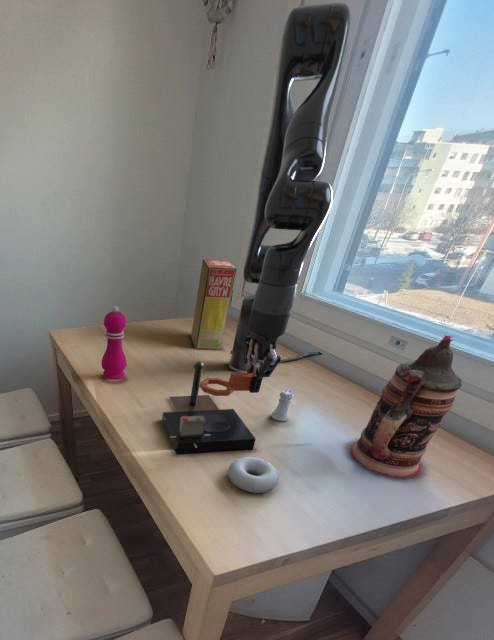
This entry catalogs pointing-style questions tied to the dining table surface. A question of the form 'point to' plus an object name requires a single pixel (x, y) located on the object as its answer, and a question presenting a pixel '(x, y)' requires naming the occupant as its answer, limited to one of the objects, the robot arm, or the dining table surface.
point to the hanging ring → (228, 384)
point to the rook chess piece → (283, 406)
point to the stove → (210, 434)
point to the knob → (191, 427)
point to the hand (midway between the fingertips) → (251, 388)
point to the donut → (250, 482)
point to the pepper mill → (114, 345)
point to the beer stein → (408, 413)
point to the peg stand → (194, 395)
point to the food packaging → (212, 303)
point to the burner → (214, 422)
